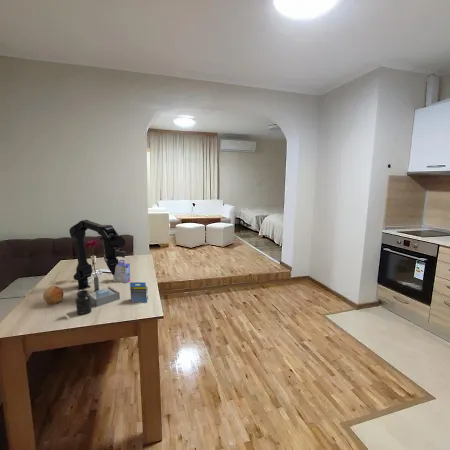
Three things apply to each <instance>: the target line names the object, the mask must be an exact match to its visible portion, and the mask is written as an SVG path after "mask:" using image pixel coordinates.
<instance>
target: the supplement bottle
mask: <svg viewBox="0 0 450 450" xmlns="http://www.w3.org/2000/svg"><path fill="white" fill-rule="evenodd" d="M88 291H89V290H86V289H85V290H84V289H82V290H79V291H78V292H76V296H77V297H76V298H75V307H76V315H78V316H86V315H89V314H91V313H92V308H93V307H92V304H91V298H90V296H89V295H88V294H89V292H88Z"/></svg>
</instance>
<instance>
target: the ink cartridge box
mask: <svg viewBox="0 0 450 450" xmlns="http://www.w3.org/2000/svg"><path fill="white" fill-rule="evenodd" d="M118 261H119V263H118V264H117V265H116V268H115V275H112V277H113V278H112V279H113V283H116V282H121V283H123V284H127V283H130V282H131V265H130V264H131V263H127V262H126V261H125V259H119V260H118Z"/></svg>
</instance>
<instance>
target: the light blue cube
mask: <svg viewBox="0 0 450 450" xmlns="http://www.w3.org/2000/svg"><path fill="white" fill-rule="evenodd" d="M106 289H107V288H102V289H99V290H98V291H96V299H98V298H101V297H104V296H108V295H109V292H108V290H106Z"/></svg>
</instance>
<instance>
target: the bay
mask: <svg viewBox="0 0 450 450" xmlns="http://www.w3.org/2000/svg"><path fill="white" fill-rule="evenodd" d="M107 289H109V290H111V291H112V292H114V294H111V295H108V296H104V297H101V298H98V299H95V298H94V297H92V296H91V295H90V293H88V295H89V296H90V298H91V306H93V307H94V308H98V307H100V306H103V305H107V304H110V303H113V302H116V301H120V300H121V296H120V291H118V290H116V289H114V288H113V287H111V286H109V285H108V286H107Z"/></svg>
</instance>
